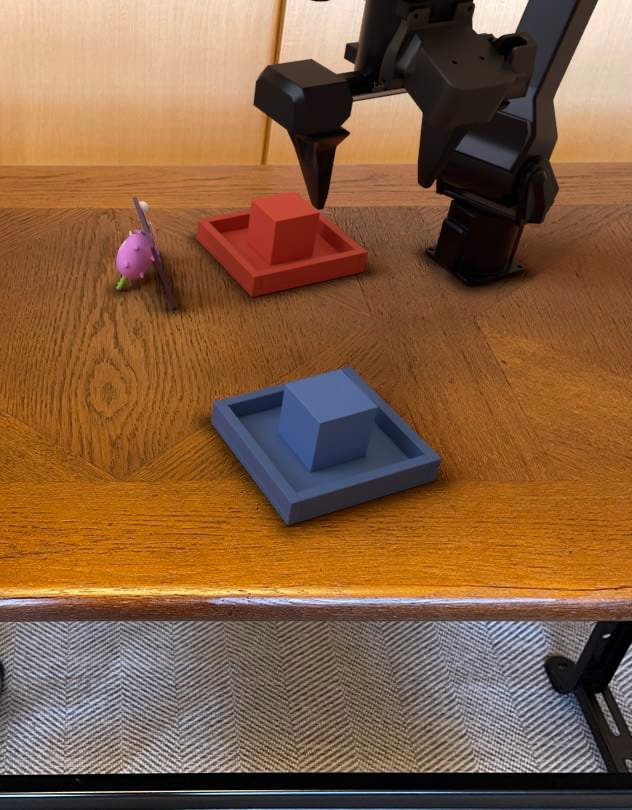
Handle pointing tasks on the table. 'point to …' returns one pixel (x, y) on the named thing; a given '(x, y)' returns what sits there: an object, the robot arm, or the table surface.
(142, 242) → the pink spiky toy
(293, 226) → the red block
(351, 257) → the red tray
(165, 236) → the table surface
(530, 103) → the robot arm
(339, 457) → the blue block
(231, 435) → the blue tray
